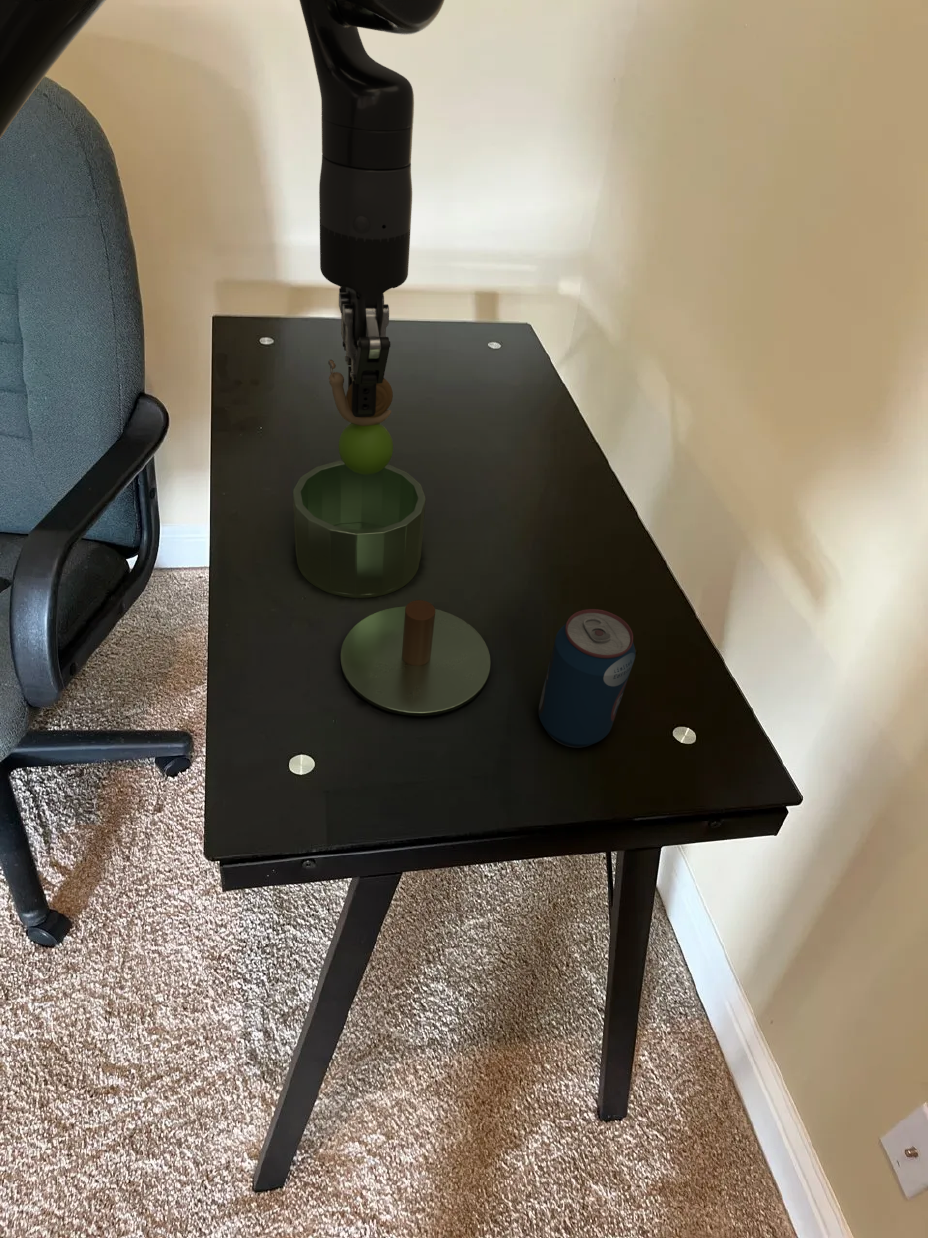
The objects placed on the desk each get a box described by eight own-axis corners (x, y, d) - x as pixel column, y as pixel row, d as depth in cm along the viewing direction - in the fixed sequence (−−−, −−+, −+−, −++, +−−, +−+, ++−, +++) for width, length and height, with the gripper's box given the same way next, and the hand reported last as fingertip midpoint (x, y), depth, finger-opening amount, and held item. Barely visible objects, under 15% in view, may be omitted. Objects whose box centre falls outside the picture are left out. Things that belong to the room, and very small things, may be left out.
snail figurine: (323, 460, 85) (321, 348, 77) (382, 453, 87) (386, 344, 79) (337, 489, 81) (336, 374, 74) (399, 481, 84) (405, 369, 76)
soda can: (621, 746, 76) (654, 654, 68) (551, 759, 74) (577, 666, 66) (591, 692, 81) (619, 599, 73) (525, 702, 79) (546, 609, 71)
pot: (303, 603, 86) (300, 537, 80) (291, 526, 95) (288, 462, 90) (430, 592, 89) (437, 529, 83) (406, 518, 99) (410, 457, 93)
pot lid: (352, 729, 74) (353, 675, 69) (331, 620, 84) (330, 566, 80) (506, 710, 78) (517, 657, 73) (469, 608, 88) (476, 555, 83)
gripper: (427, 249, 64) (413, 444, 76) (395, 194, 74) (387, 375, 86) (330, 247, 62) (331, 447, 74) (310, 191, 72) (314, 376, 84)
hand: (361, 408), depth 80 cm, fingers closed on snail figurine
